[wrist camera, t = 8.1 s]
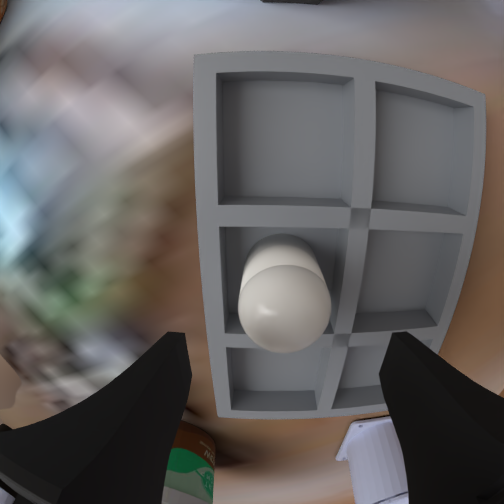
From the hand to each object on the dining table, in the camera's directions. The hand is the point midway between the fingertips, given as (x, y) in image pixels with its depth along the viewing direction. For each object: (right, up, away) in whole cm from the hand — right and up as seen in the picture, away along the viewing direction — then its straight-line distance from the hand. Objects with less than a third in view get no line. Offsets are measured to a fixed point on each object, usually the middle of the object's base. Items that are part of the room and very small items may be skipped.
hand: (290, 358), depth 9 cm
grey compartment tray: (+4, +3, +8) cm, 9 cm away
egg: (0, +3, +7) cm, 7 cm away
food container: (-7, -15, +16) cm, 23 cm away
